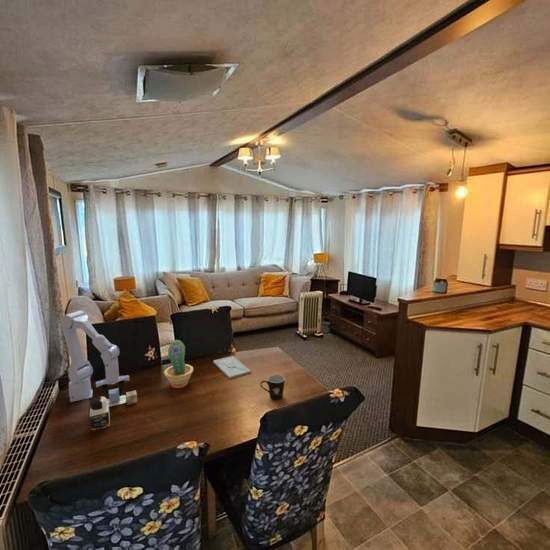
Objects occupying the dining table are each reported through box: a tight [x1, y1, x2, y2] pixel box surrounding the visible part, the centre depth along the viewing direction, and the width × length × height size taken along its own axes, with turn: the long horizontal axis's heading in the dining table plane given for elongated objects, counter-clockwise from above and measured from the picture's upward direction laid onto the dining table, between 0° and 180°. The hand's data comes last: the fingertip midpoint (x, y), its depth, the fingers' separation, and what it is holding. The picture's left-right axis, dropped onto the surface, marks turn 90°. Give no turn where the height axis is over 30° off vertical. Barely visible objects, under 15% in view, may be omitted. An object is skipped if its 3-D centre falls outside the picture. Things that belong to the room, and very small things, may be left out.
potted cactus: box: [163, 339, 194, 389], centre depth 174 cm, size 15×15×25 cm
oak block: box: [125, 389, 138, 406], centre depth 158 cm, size 4×4×4 cm
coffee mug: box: [260, 374, 286, 401], centre depth 163 cm, size 12×9×10 cm
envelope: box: [212, 355, 252, 380], centre depth 195 cm, size 24×2×14 cm
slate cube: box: [108, 387, 120, 403], centre depth 158 cm, size 4×4×4 cm
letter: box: [106, 394, 127, 408], centre depth 159 cm, size 11×8×1 cm
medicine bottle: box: [89, 396, 111, 431], centre depth 140 cm, size 7×7×12 cm
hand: (114, 396), depth 158 cm, fingers closed on slate cube, 4 cm apart
